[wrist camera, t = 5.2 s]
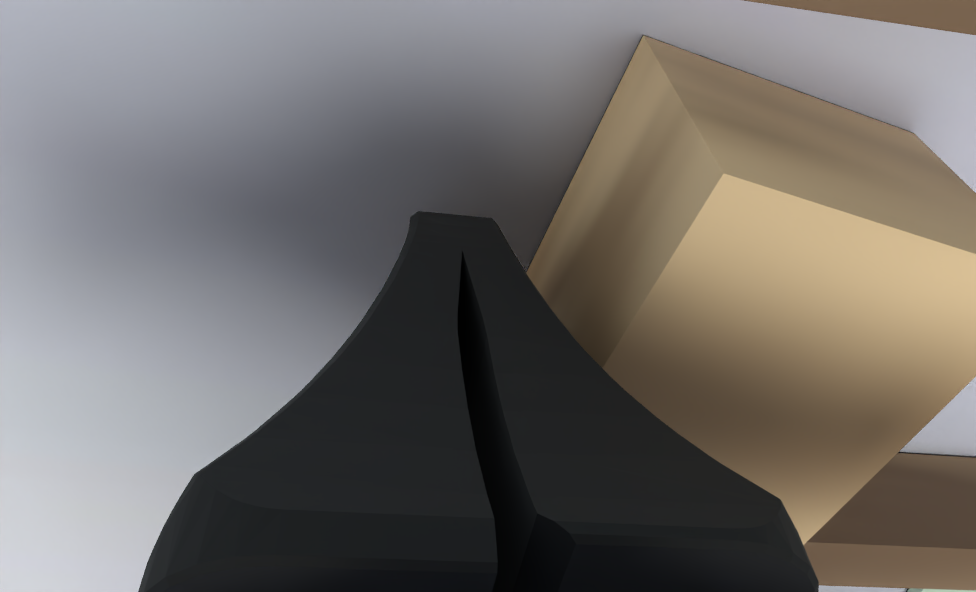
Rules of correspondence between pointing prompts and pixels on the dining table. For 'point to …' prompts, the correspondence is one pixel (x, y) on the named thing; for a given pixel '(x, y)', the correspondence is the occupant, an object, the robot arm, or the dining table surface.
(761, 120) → the oak block
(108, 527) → the dining table surface
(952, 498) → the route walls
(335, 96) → the dining table surface
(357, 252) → the dining table surface
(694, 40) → the dining table surface
